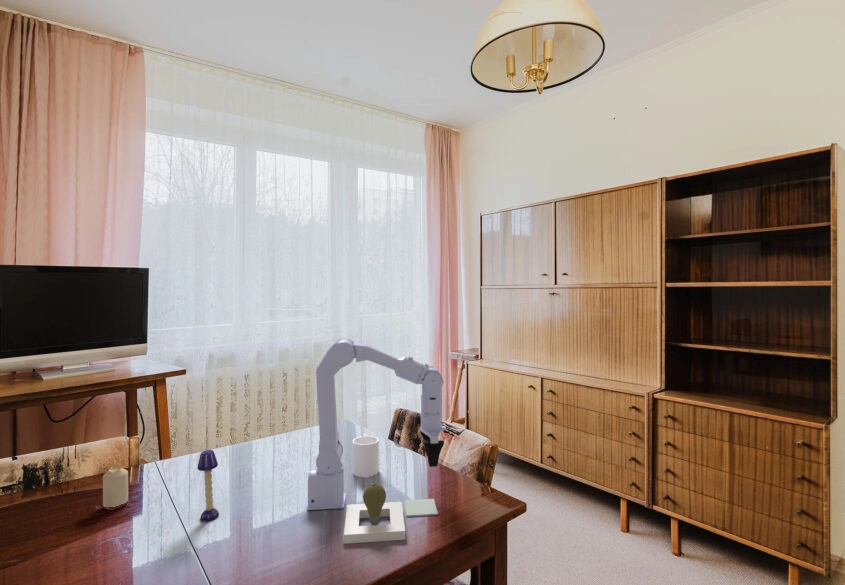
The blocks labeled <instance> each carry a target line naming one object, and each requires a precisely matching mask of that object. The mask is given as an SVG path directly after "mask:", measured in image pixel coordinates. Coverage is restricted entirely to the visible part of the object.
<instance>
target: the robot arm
mask: <svg viewBox="0 0 845 585" xmlns="http://www.w3.org/2000/svg"><path fill="white" fill-rule="evenodd" d="M354 359H355V363H360V362H363V361H369V362H370V363H371V362H372V363H375V364H377V365H380V366H382V367H385V368H387V369H391V370H392V371H394V373H395V376H396V377H398V378H400V379H403V380H405V381H408V382H410V383H413V384H415V385H421V396H420V413H421V414H420V430H419V432H420V434H421V437H422V444H423V446H424V451H425V456H426V458H427V462H428V466H429V468H431V467H432V468H433V467H436V468H437V467H438V464H439V459H440V455H441V452H442V449H443V447H444V445H445V440H439V436H440V435H441V433H442V432H443V431H445V432H446V431H447V426H446V425H442V424H443V422H442V421H443V416H442V414H443V411H442V410H443V409H442V408H443V406H442V404H443V403H442V402H443V401H442V398H443V397H442V387H443V385H444V382H445V381H444V379H443V376H442V374H441V373H440V371H439V370H438V369H437V368H435V366H432V365H429V364H427V363H425V364H423V363H421V362H419V361H416V360H414V357H413V356H410V355H408V356H407V357H406V356H402V357H400V358H397V357H395V356H392V355H390V354H388V353H386V352H383V351H382V350H380V349H377V348H374V347H373V346H371V345H368V344H366V343H362V342H359V341H356V340H354V341H353V340H352V339H350V338H342V339H341V338H340V339H339V340H337V341H336V342H335V343H333V345H331V346H330V348H329V349H328V350H327V351H326V353H325V355H324V356H323V358H322V360H321V361H320V362H319V365H318V366H317V367H316V370H315V372H316V373H315V376H316V379H315V380H316V394H317V411H318V426H319V429H318V430H319V442H318V455H317V457H316V459H315V466H316V468H315V469H310V470H309V471H308V476H307V510H308V511H316V510H317V511H318V510H335V509H344V508H345V505H346V504H345V503H346V499H347V498H346V496H347V493H346V492H344V490H345V489H344V486H345V484H344V483H345V482H344V479H345V478H344V475H345V474H344V473H345V472H344V465H343V464H342V461H341V460H342V456H343V452H344V447H343V445H342V443H341V442H340V436H339V432H338V420H337V419H338V418H337V414H338V413H337V402H336V400H337V399H336V397H337V396H336V384H335V383H336V382H335V381H336V380H335V375H336V374H337V373H338V372H339V371H340V370H341V369H343V368H345V367H346V366H348V365H350V364H352V363H353V361H354Z"/></svg>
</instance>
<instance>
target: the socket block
mask: <svg viewBox="0 0 845 585" xmlns="http://www.w3.org/2000/svg"><path fill="white" fill-rule="evenodd" d="M382 517H383V518H385V517H389V524H388V523H387V524H377V525H371V524H370V525H360V521H361V519H370V516H369V514H368V510H367V507H366V505H365V503H355V504H353V503H352V504H347V505H346V513H345V521H344V528H343V545H345V544H360V543H375V542H389V541H404V540H406V526H405V525H406V524H405V518H404V517H405V516H404V510H403V503H402V501H391V502H390V501H388V502H385V503H384V505H383V507H382V510H381V514H380V518H382Z"/></svg>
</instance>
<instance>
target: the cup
mask: <svg viewBox="0 0 845 585" xmlns="http://www.w3.org/2000/svg"><path fill="white" fill-rule="evenodd" d="M379 442H380V440H379V438H378V437H377V436H372V435H366V434H365V433H363V434H362V436H358V437H355V438H353V439H352V474H353V476H355V477H357V478H371V477H374V476H373V475H375V474H376V475H378V474H379V473H378V472H380V461H379V460H380V457H379V456H380V450H379V448H380V447H379V446H380V445H379ZM377 473H378V474H377ZM376 475H375V476H376ZM370 476H371V477H370Z"/></svg>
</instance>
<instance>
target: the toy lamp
mask: <svg viewBox="0 0 845 585" xmlns="http://www.w3.org/2000/svg"><path fill="white" fill-rule="evenodd" d="M218 465H219V463H218V459H217V457H216V453H215V451H214V450H213V449H206V450H203V451H201V452H200V454H199V458H198V464H197V470H198V471H201V472H204V477H203V478H204V486H205V487H204V491H205V493H204V494H205V495H204V496H205V504H206V505H205V510H203V512H202V513H201V515H200V519H199V520H201V521H202V522H210V521H214V520H215V519H217V518H218V517H219V515H220V513H219V510H218V509H217V508H214V498H213V496H214V493H213V480H212V478H213V474H212V472H213V470H214V469H216V468H217V467H218Z"/></svg>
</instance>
